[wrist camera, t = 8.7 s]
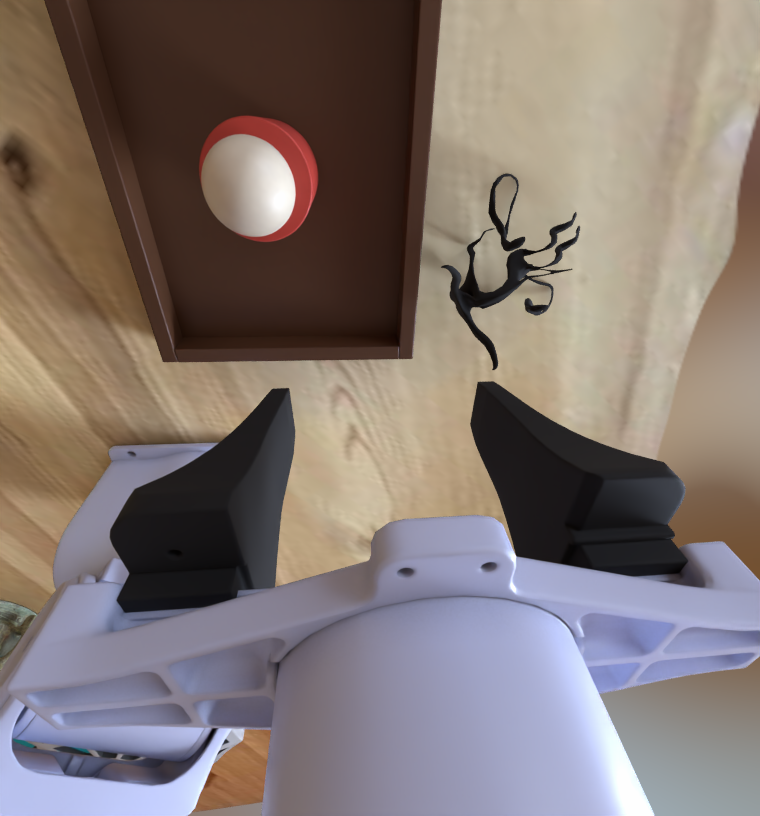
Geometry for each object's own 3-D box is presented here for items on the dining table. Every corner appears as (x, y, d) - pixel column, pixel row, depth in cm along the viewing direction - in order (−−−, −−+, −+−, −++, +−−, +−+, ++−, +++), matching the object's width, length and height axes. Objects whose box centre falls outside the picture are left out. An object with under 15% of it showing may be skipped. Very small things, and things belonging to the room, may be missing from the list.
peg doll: (236, 220, 19) (189, 261, 13) (219, 116, 17) (152, 110, 11) (320, 221, 19) (311, 262, 13) (315, 119, 17) (301, 114, 11)
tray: (176, 345, 23) (162, 363, 21) (28, -147, 13) (-20, -189, 11) (407, 342, 24) (412, 359, 22) (440, -113, 14) (454, -147, 12)
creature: (534, 143, 20) (401, 239, 20) (619, 128, 15) (445, 252, 15) (573, 278, 24) (463, 355, 24) (649, 299, 19) (512, 393, 20)
